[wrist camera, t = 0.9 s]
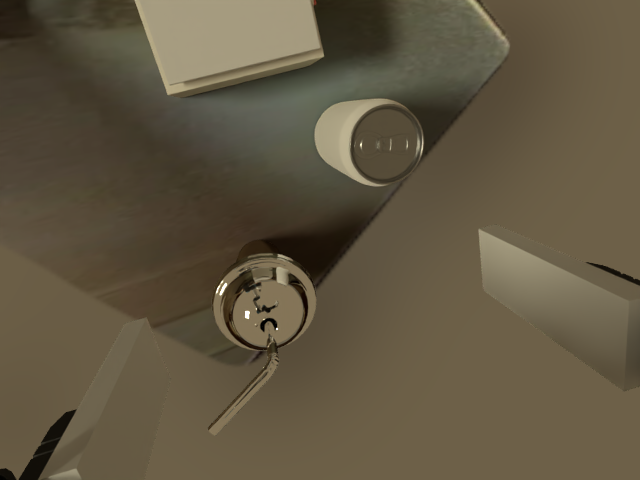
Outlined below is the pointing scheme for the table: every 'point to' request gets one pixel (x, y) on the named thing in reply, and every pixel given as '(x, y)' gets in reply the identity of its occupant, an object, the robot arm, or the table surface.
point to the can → (370, 140)
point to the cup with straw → (261, 310)
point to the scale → (228, 40)
